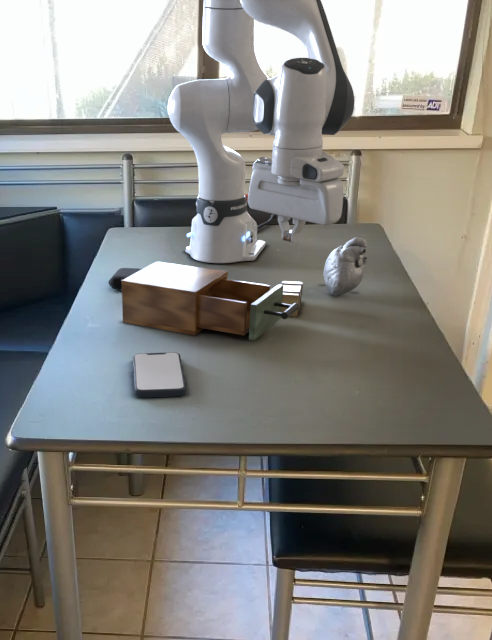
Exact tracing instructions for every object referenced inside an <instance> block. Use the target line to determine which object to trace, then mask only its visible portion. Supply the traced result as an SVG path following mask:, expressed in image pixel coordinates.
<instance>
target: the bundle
mask: <svg viewBox="0 0 492 640" xmlns="http://www.w3.org/2000/svg"><path fill="white" fill-rule="evenodd" d="M280 285H284V287H283V299H282V303H285V304H291V305H292V304H294V303H298V304H299V309H298V310H297V311H295V312H294V313H293V314H292V315H291V316H290V317H297V316H298V314H299V312H300V311H299V310H300V307H301V305H302V296H303V288H304V287H303V286H304V282H303V281H291V280H283V281H281V283H280ZM286 309H288V308H285V307H282V313H283V312H284V311H285V310H286Z"/></svg>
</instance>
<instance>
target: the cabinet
mask: <svg viewBox="0 0 492 640" xmlns="http://www.w3.org/2000/svg"><path fill="white" fill-rule="evenodd" d="M141 269H142V270H140V271H138V272H136V273H135V274H133V275H131V276H129V277H127V278H125V279H123V280H122V281H121V283H122V290H121V304H122V308H121V309H122V323H124V324H130V325H136V326H141V327H145V328H153V329H157V330H163V331H168V332H174V333H180V334H185V335H190V336H196V335H197V334H199V333H200V332H202V331H203V330H204V328H199V327H197V295H198V294H199V293H201V292H203V291H204V290H206V289H207V288H209V287H210V286H212V285H213V284H215V283H217V282H218V281H220V280H221V279H223V278H224V279H229V278H228V277H229V276H228V275H229V271H227V270H222V269H221V270H219V269H214V268H207V267H199V266H193V265H185V264H179V263H178V264H177V263H171V262H164V261H157V260H156V261H155V262H153V263H151V264H149V265H147V266H146V267H144V268H141Z"/></svg>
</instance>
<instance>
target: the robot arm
mask: <svg viewBox="0 0 492 640" xmlns="http://www.w3.org/2000/svg"><path fill="white" fill-rule="evenodd" d="M202 9H203V10H202V37H201V38H202V46H203V49H204V51H205V52H206V54H207V55H208V56H209V57H210V58H212V59H214V61H217V62H219V63H221V64H223V65H224V66H226V67H227V77H225V78H211V79H210V78H207V79H205V78H204V79H195V80H190V81H187V82H183V83H180V84H177V85H176V86H175V87H174V88H173V90H172V92H171V94H170V96H169V97H168V103H167V114H168V118H169V121H170V123H171V125H172V126H173V128H174V129H175V130H176V132H178V133H180V135H182V137H184V138H185V140H187V142H188V143H189V145H190V147H191V148H192V150H193V152H194V155H195V158H196V163H197V173H198V175H197V176H198V195H197V196H196V202H195V206H196V210H195V211H196V215H195V216H194V217H193V218H192V219H191V229H190V232H188V233H186V237H187V238H190V241H189V246H186V247H185V250H184V251H185V253H186V254H188V255H190V257H191V258H192V259H193V260H196V261H198V262H202V263H209V264H210V263H211V264H231V263H238V262H251V261H255V260H256V259H257V257H258V255H260V254H261V252H262V251H263V250H264V248H265V247H266V241H264V240H262V239H259V238H258V230H260V229H262V228H264V227H266V226H268V225H269V224H271V223H272V221H273V220H274V219H276V218H277V223H278V226H279V228H280V231H281V236H280V238H281V241H285V242H289V243H293V244H295V243H298V242H299V241H300V233H301V231H302V230H303V228H304V227H305V225H306V222H308V223H312V224H316V225H322V226H330V225H334V224H337V222H339V221H340V219H341V217H342V214H343V206H344V205H343V204H344V185H343V182H342V180H341V177H343V175H344V173H345V166H344V164H343V163H342V162H341V161H339V160H337V159H336V158H334V157H333V156H331V155H329V154H328V153H327V152H326V151H324V150H323V144H324V142H323V141H324V140H323V136H335V135H336V134H337V133H339V132H340V131H341V130H342V129H343V128H344V127H345V126H346V125H347V124H348V123H349V121H350V120H351V118H352V117H353V114H354V110H355V93H354V88H353V86H352V83H351V82H350V79H349V77H348V76H347V74H346V72H345V69H344V67H343V65H342V62H341V59H340V58H341V57H340V56H339V55H340V54H339V51H338V49H337V45H336V42H335V39H334V36H333V33H332V29H331V27H330V23H329V20H328V17H327V13H326V11H325V7H324V5H323V2H322V0H203V7H202ZM255 21H256V22H258V23H261V24H263V25H267V26H270V27H274V28H277V29H279V30H283V31H285V32H287V33H289V34H290V35H293V36H294V37H296V38H298V39H299V41H300V42H301V43H302V44H303V46H304V48H305V52H306V55H307V57H293V58H289V59H287V60H285V61H283V62H282V64H281V65H280V69H279V73H277V74H276V75H275V76H272V77H271V78H270V77H269V76H268V75H267V74H266V73H265V71H264V70H263V68H262V67H261V65H260V62H259V60H258V57H257V54H256V53H257V52H256V46H255ZM255 131H260V132H261V133H262V134H263V135H267V136H273V137H274V139H273V143H272V152H271V158H267V157H265V156H260V157H258V158H257V159H256V160H255V161H254V162H253V164H252V170H251V173H252V174H251V176H250V181H249V186H248V192H247V193H245V191H246V172H247V164H246V161H245V159H244V157H243V156H242V155H241V154H240V153H238V152H237V151H235V150H234V149H232V148H230V147H228V146H226V145H224V144H223V142H222V135H223V134H226V133H245V132H246V133H248V132H255ZM248 207H249V209H251V210H255V211H259V212H263V213H267V214H271V215H270V217H269V219H268V220H267V221H264V222H263V223H261V224H257V221H256V220H255V219H254V218H253V217H252V216H251V215H250V214H249V212H248ZM276 215H277V217H276ZM291 219H292V225H294V226H293V227H292V229H291V226H290V222H289V221H290V220H291Z"/></svg>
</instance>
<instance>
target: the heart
mask: <svg viewBox="0 0 492 640" xmlns="http://www.w3.org/2000/svg"><path fill="white" fill-rule="evenodd" d="M367 248H368V242H367V241H366V239H365V238H359V237H353V238H352V239H350V240H348V241H346V242H345V243H344V245H340V246H338V247H337V248H334V249H333V250H332V251H331V252H330V253H329V255H328V256H327V258H326V260H325V264H324V267H323V273H322V274H323V280H324V284H325V287H326V289H327V291H328V293H330V294H331V295H332V296H336V297H337V296H341V295H344V294H347V293H349V292H351V291H354V289H355V290H356V288H357V287H359V285H360V283H361V282H362V281H363V279H364V274H365V266H364V265H366V264H367V262H368V256H366V254H367V250H366V249H367Z"/></svg>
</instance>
